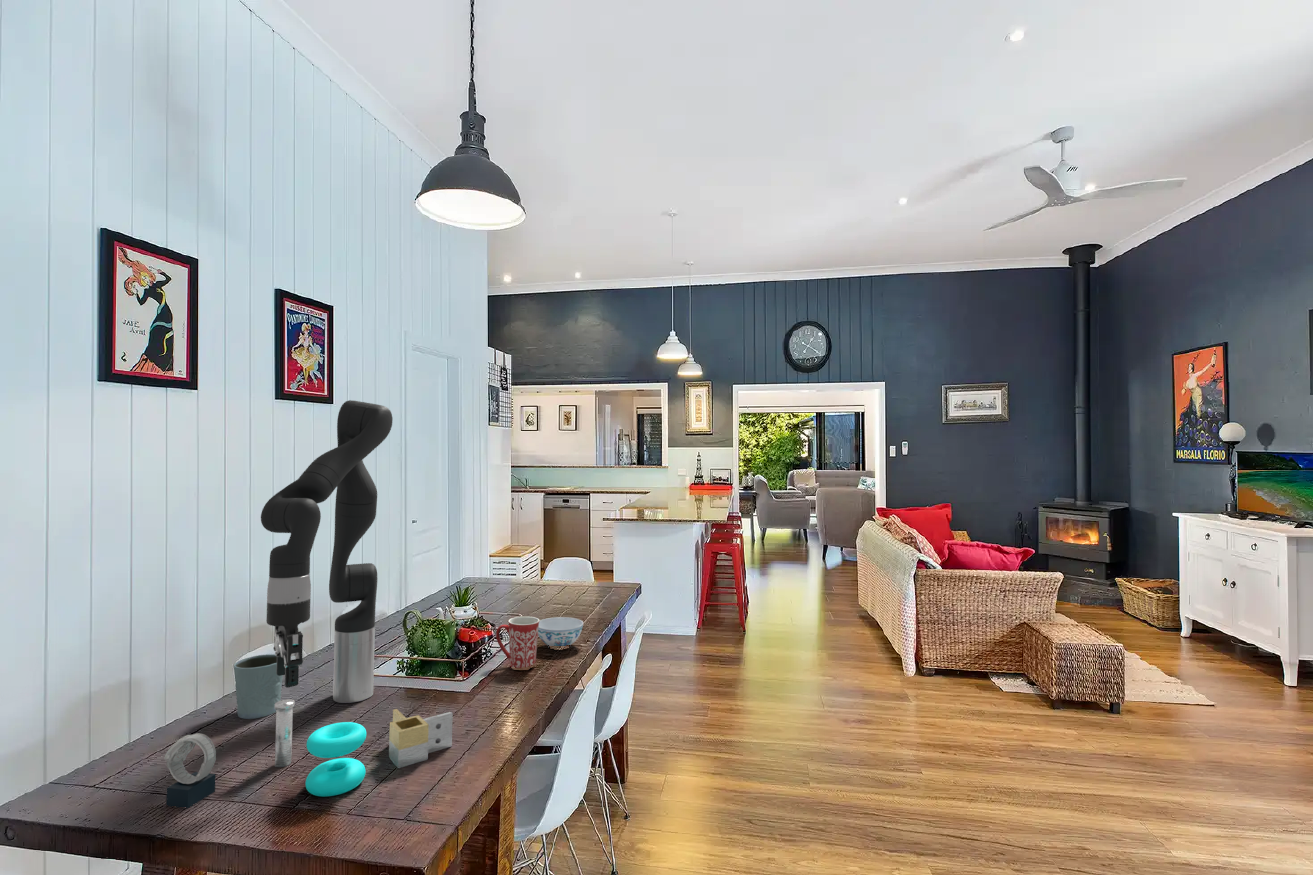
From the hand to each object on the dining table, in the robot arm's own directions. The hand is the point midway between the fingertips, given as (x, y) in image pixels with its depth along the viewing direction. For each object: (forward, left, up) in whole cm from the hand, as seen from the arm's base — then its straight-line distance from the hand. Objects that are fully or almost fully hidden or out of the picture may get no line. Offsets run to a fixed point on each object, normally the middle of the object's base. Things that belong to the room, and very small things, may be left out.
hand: (287, 680), depth 125 cm
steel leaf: (+13, +23, -16) cm, 31 cm away
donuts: (+15, +6, -17) cm, 23 cm away
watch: (+4, -15, -17) cm, 23 cm away
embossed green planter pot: (-32, 0, -17) cm, 36 cm away
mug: (-23, +63, -17) cm, 69 cm away
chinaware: (-31, +82, -17) cm, 89 cm away
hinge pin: (0, 0, -16) cm, 16 cm away
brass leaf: (+10, +20, -16) cm, 28 cm away
